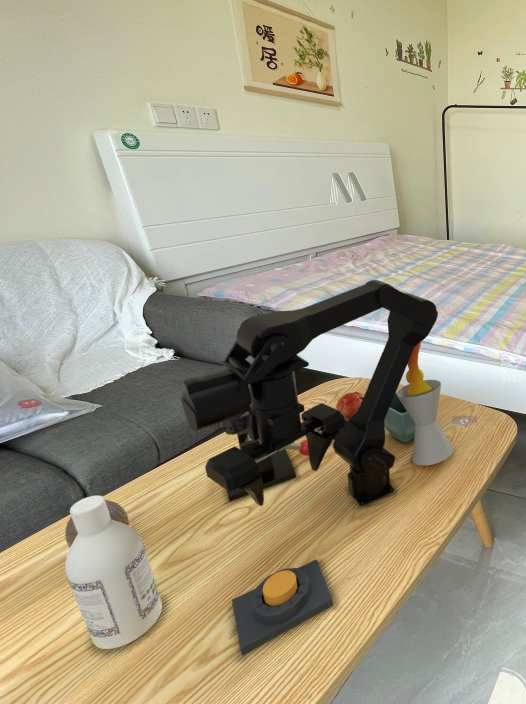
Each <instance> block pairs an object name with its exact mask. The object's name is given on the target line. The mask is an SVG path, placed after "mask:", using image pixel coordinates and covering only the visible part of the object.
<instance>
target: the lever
mask: <svg viewBox="0 0 526 704" xmlns="http://www.w3.org/2000/svg"><path fill="white" fill-rule="evenodd" d="M251 440H252V439H250V438H249V434H247V437H246V439H245V441H244V442H248V441H251ZM283 449H286V451H298V453H299V454H301V455H302V456H306V457H307V456H308V457H309V451H308V442H307V439H304V440H302V441H301V442H299V443H298V442H294V443H292V444H290V445H289V446H287V447H285V448H283ZM283 449H282V450H283Z"/></svg>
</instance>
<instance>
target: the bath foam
mask: <svg viewBox="0 0 526 704" xmlns="http://www.w3.org/2000/svg"><path fill="white" fill-rule="evenodd" d="M105 500H106V499H105V498H104V496H102V495H90V496H87V497H84V498H82V499H79V500H78V501H77V502H75V503H74V504H72V506H71V507H70V509H69V513H70V518H71V517H72V519H73V522H74V525H75V527H76V530H77V532H78V535H77V536H76V538H75V540H74V542H73V543H72V545H71V547H70V548H68V552H67V554H66V557H65V565H64V566H65V575H66V579H67V582H68V584H69V587H70V589H71V592H72V594H73V597H74V599H75V602H76V604H77V607H78V609H79V612H80V615H81V617H82V619H83V622H84V625H85V627H86V629H87V632H88V633H89V636H90V638H91V641H92V643H93V644H94V646H96V647H97V648H99V649H102V650H113V649H117V648H120V647H123V646H125V645H128V644H130V643H132V642H134V641H136V640H137V639H139V638H140V637H142V636H143V635H144V634H146V633H147V632H148V631H149V630H150V629H151V628H152V627H153V626H154V625H155V624H156V622H157V621H158V620H159V618H160V615H161V613H162V609H163V603H162V599H161V596H160V593H159V589H158V586H157V583H156V580H155V576H154V573H153V570H152V567H151V564H150V561H149V558H148V557H149V556H148V554H147V551H146V547H145V544H144V542H143V539H142V537H141V535H140V534H139V533H138V532H137V531H136V529H134V528H133V527H132V526H130V525H129V526H128V525H126V524H124V523H121V522H118V521H115V520H111V518H110V514H109V511H108V508H107V505H106V502H105Z"/></svg>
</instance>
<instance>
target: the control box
mask: <svg viewBox="0 0 526 704" xmlns="http://www.w3.org/2000/svg"><path fill="white" fill-rule="evenodd" d="M285 570H288V571H292V572H293V573H294V574H295V576H296V581H297V591H296V593H295V595H294V596H293V597H292V598H291V599H290V600H289V601H288V602H286V603H284V604H282V605H279V606H270V605H268V604H266V602H265V600H264V595H263V586H264V584H265V582H266V581H267V579H268V578H270V577H271V576H272V575H274V574H275V573H277V572H280V571H285ZM326 581H327V580H326V579H325V575H324V574H323V572H322V568H321V566H320V564H319V561H318V559H317V558H316V559H314V560H311V561H309V562H307V563H305V564H303V565H301V566H299V567H290V568H289V567H288V568H282V569H280V570H277V571H275V572H273V573H271V574H269V575H268V576H267V577H265V578H264V579H263V580H262V581H261V582H260V583H259V584H257V586H256V588H253V589H251V590H249V591H247V592H245V593H243V594H241V595H239V596H236V597H234V598H232V599H231V603H232V609H233V614H234V620H235V627H236V631H237V638H238V643H239V649H240V653H241V656H244V655H246V654H248V653H249V652H251V651H253V650H255V649H257V648H259V647H261V646H263V645H264V644H266V643H267V642H268V643H269V642H270V641H271V640H273V639H275V638H277V637H279V636H280V635H282V634H285V633H286V632H287V631H289V630H291V629H293V628H295V627H296V626H299V625H301V624H302V623H304V622H306V621H307V620H310V619H311V618H313V617H314V616H315V617H316V616H317V615H318V614H320V613H322V612H323V611H326V610H327V609H329V608H331V607H333V606H334V601H333V596H332V594H331V592H330V589H329V587H328V583H327V582H326Z"/></svg>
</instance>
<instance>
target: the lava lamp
mask: <svg viewBox="0 0 526 704" xmlns="http://www.w3.org/2000/svg"><path fill="white" fill-rule="evenodd" d="M402 292H403V293H407V292H406V291H402ZM421 345H422V341H421V342H420V343H419V344H418V345H416V346H415V348H414V350H413V352H412V354H411V357H410V359H409V362H408V364H407V367H408V368H407V369H408V370H407V372H406V374H405V380H406V382H407V383H408V384H406V385H404V386H402V387H400V388H399V389H397V391H396V392H397V396H398V398H399V400H400V401H401V403H402V404H403V406H404V407H405V409H406V410H407V412H408V413H409V415H410V416H411V418H412V419H413V421H414V422H415V424H416V428H415V437H414V438H413V448H412V458H411V459H412V462H413V463H414V465H417V466H431V465H436V464H439V463H441V462H444V461H445V460H446V459H448V458H450V457H451V455H452V454H453V453H454V447H453V444H452V443H451V442H450V440H449V438H448V437H447V435H446V433H445V431H444V429H443V428H442V426H441V424H440V423H439V421H438V419H437V418H438V411H439V403H440V396H441V391H442V390H441V389H442V382H441V381H440V380H438V379H424V377H425V375H424V372H423V370H422V369H420V368H419V367H420V366H419V353H420V349H421Z"/></svg>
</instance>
